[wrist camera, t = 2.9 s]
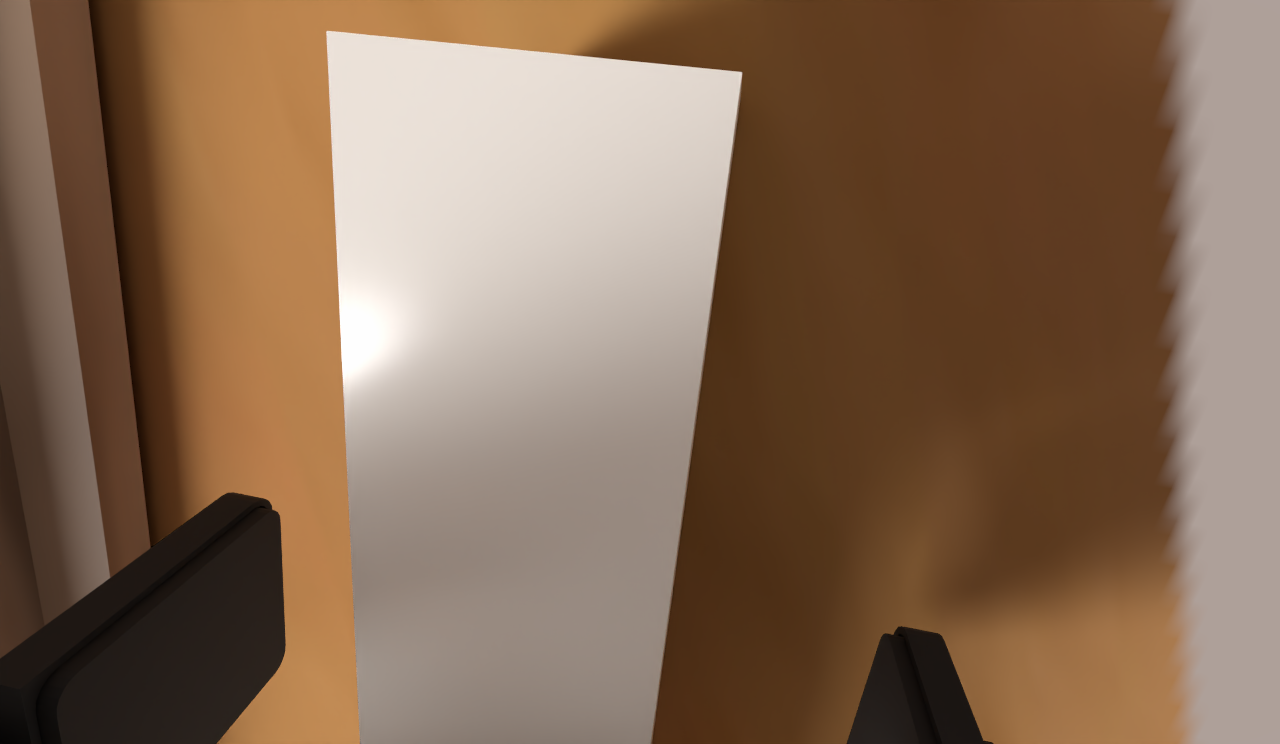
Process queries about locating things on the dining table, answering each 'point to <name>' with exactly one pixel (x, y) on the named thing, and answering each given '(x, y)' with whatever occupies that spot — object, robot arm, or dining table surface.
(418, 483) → the white strip
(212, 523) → the robot arm
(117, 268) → the walnut rack
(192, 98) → the dining table surface
